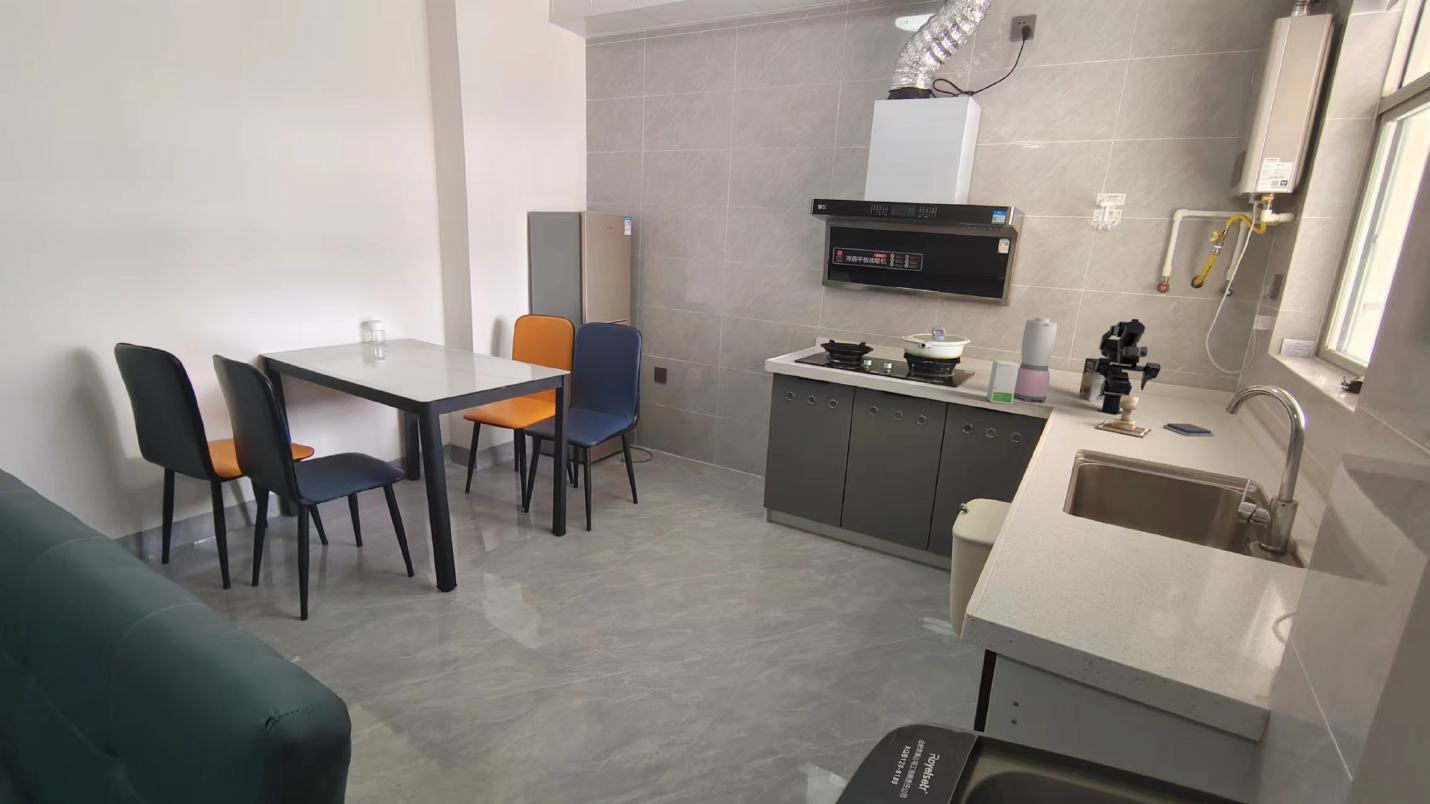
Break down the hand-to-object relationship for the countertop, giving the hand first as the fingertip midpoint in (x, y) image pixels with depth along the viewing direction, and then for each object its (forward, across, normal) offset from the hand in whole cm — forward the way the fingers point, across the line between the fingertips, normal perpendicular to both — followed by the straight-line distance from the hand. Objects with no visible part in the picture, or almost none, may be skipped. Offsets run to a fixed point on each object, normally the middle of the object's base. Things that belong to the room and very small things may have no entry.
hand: (1126, 387), depth 229 cm
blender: (-10, -28, +28) cm, 41 cm away
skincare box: (0, -38, +18) cm, 43 cm away
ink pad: (+8, +21, +11) cm, 25 cm away
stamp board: (+14, 0, +4) cm, 15 cm away
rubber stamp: (+14, 0, +4) cm, 15 cm away
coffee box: (-20, -4, +39) cm, 43 cm away
